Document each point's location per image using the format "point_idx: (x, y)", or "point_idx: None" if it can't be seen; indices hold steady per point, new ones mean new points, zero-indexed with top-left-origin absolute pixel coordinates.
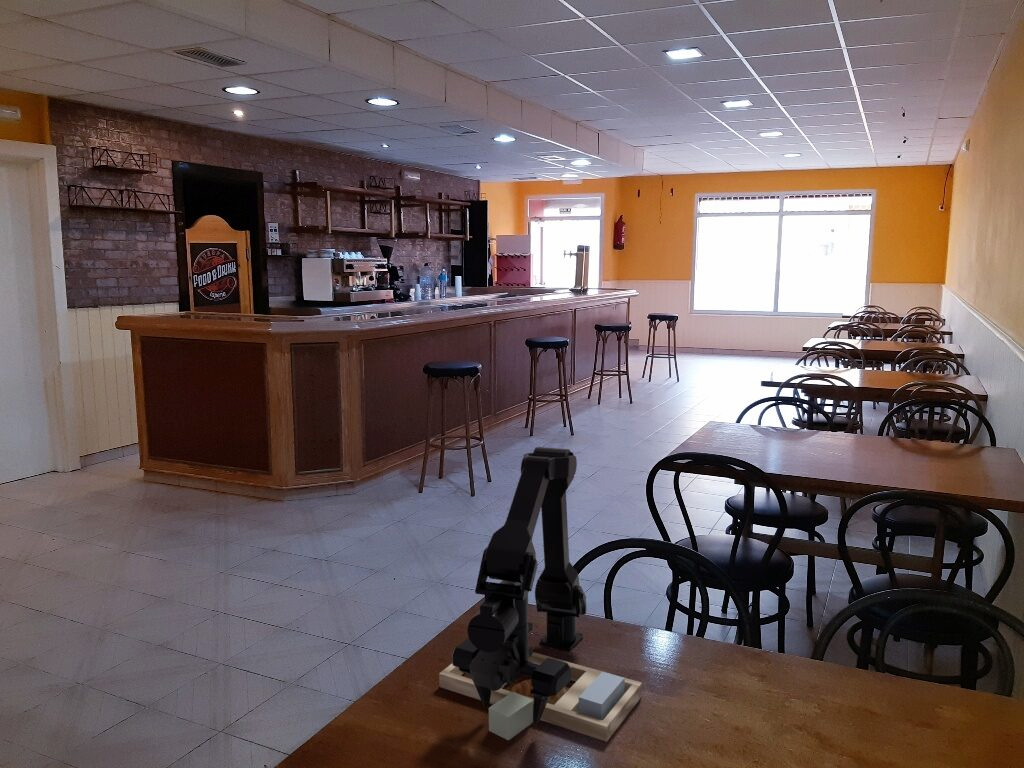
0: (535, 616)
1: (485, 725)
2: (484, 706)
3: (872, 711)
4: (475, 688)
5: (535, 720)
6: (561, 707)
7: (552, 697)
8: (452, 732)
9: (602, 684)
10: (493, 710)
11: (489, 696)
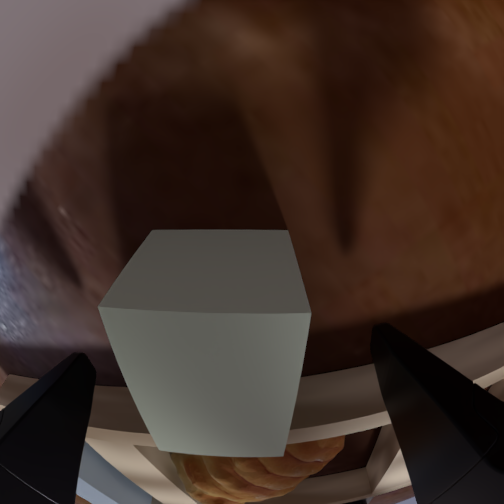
0: (404, 495)
1: (330, 251)
2: (382, 325)
3: None
4: (462, 372)
5: (64, 364)
6: (107, 441)
7: (190, 460)
8: (428, 110)
9: (101, 500)
10: (255, 312)
11: (383, 386)
